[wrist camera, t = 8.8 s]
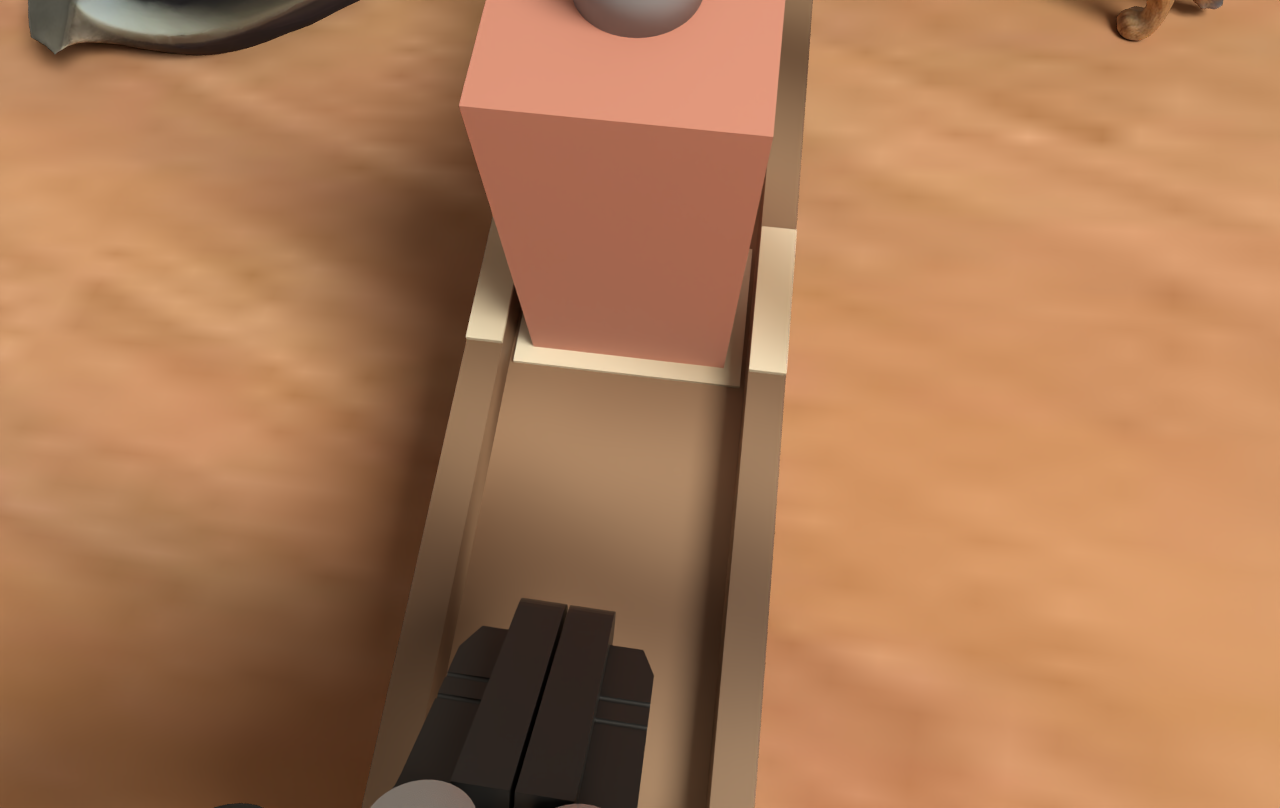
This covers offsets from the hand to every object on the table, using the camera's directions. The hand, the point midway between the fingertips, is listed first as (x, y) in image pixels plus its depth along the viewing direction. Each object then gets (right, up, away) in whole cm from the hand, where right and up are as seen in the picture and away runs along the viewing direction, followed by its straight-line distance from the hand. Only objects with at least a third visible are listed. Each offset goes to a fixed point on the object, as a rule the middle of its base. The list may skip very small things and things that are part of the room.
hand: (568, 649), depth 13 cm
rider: (+1, +7, +7) cm, 10 cm away
